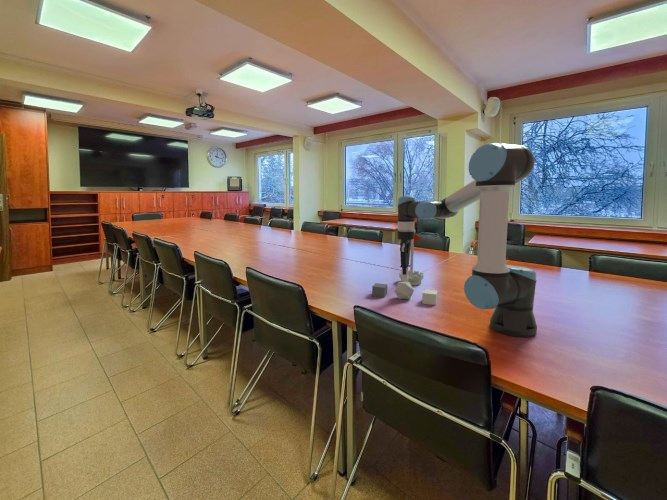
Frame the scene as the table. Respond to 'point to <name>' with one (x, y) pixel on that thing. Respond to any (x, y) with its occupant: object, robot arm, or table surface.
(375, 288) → the charcoal block
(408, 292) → the die
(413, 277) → the flag stand
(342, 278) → the table surface
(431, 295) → the off-white block
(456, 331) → the table surface
